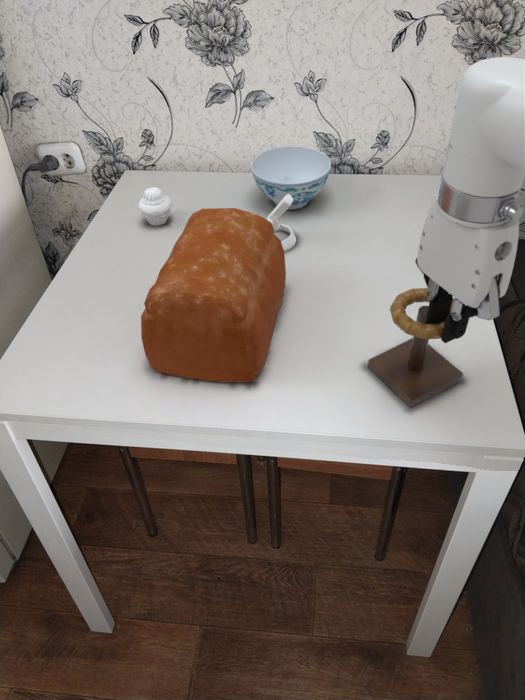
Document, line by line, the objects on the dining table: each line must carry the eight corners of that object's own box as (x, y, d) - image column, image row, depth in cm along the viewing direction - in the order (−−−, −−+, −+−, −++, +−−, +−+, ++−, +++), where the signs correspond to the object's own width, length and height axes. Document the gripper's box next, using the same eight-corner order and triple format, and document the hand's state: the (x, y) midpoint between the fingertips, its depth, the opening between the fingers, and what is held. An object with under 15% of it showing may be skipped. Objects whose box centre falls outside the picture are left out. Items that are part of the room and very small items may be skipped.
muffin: (149, 211, 115) (143, 178, 110) (178, 214, 114) (173, 181, 109) (136, 228, 111) (129, 194, 106) (166, 232, 109) (160, 198, 104)
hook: (311, 238, 97) (275, 214, 95) (276, 270, 107) (244, 249, 105) (323, 206, 101) (289, 183, 99) (289, 241, 111) (258, 220, 109)
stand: (461, 380, 80) (479, 317, 72) (410, 408, 77) (424, 345, 69) (416, 342, 86) (428, 279, 78) (367, 367, 83) (375, 304, 75)
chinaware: (329, 182, 121) (331, 146, 115) (328, 222, 110) (330, 184, 104) (257, 181, 122) (255, 145, 117) (248, 220, 111) (246, 183, 106)
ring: (477, 324, 73) (480, 313, 72) (422, 351, 70) (425, 340, 69) (428, 288, 79) (430, 277, 77) (375, 311, 76) (377, 300, 74)
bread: (289, 281, 98) (289, 201, 87) (259, 389, 80) (255, 305, 70) (190, 271, 100) (179, 193, 90) (141, 374, 83) (120, 291, 73)
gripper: (569, 221, 55) (516, 359, 68) (450, 154, 65) (424, 286, 78) (510, 245, 53) (467, 384, 66) (397, 172, 63) (378, 305, 76)
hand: (444, 329), depth 72 cm, fingers closed on ring, 2 cm apart
